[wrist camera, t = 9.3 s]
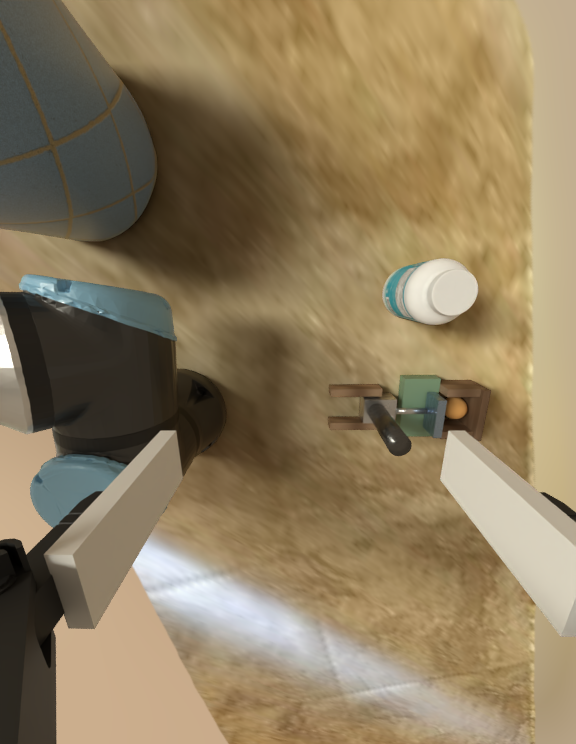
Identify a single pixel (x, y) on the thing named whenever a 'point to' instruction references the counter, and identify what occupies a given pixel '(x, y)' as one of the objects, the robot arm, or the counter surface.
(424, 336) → the counter surface
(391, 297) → the pill bottle
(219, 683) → the counter surface
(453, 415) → the ball
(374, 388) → the guide
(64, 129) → the planter
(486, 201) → the counter surface
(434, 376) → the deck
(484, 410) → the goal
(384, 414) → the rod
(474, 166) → the counter surface
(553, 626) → the robot arm
